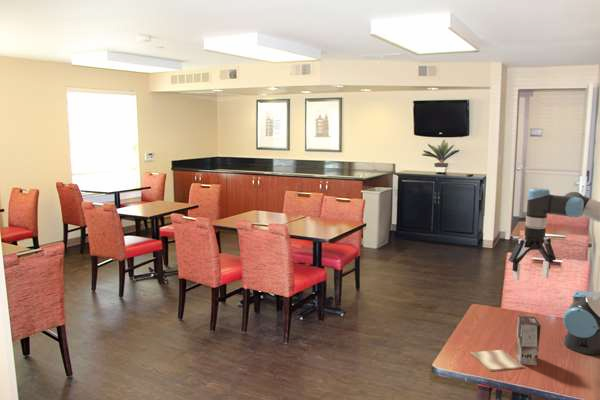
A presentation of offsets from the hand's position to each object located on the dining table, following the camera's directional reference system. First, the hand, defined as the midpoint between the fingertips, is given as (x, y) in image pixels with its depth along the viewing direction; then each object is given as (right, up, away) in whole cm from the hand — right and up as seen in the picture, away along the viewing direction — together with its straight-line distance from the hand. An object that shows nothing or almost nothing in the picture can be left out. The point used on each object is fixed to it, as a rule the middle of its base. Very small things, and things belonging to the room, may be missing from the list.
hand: (530, 277), depth 204 cm
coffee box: (-6, -31, -9) cm, 32 cm away
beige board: (-18, -30, -10) cm, 37 cm away
